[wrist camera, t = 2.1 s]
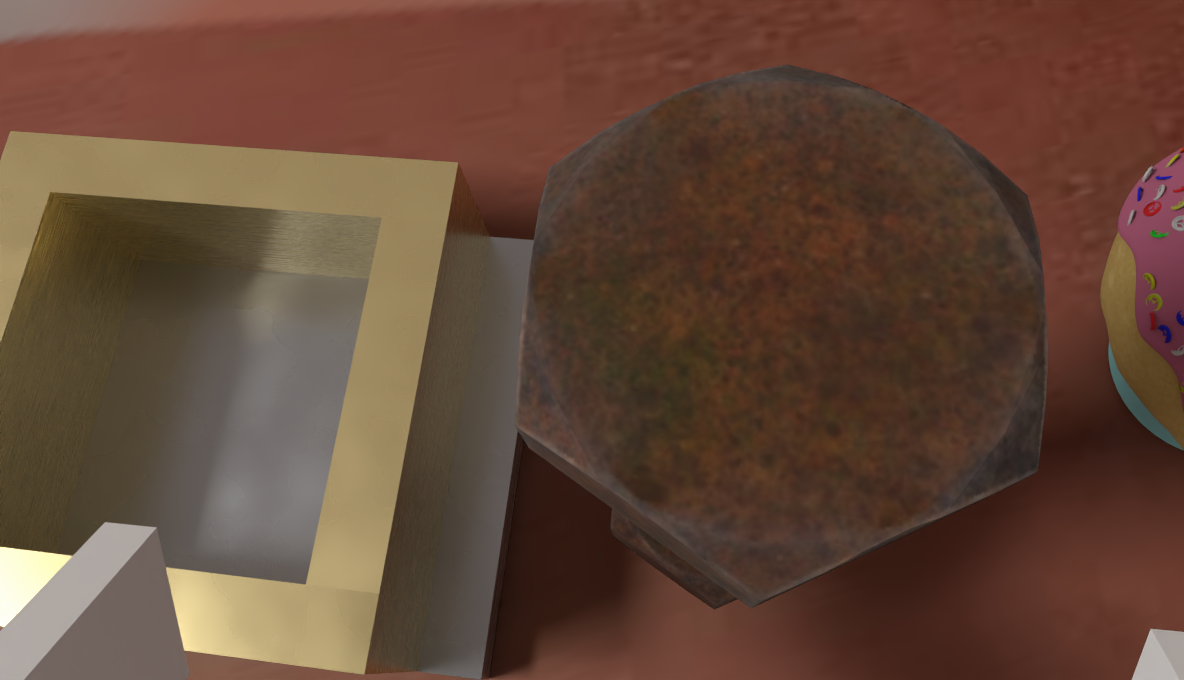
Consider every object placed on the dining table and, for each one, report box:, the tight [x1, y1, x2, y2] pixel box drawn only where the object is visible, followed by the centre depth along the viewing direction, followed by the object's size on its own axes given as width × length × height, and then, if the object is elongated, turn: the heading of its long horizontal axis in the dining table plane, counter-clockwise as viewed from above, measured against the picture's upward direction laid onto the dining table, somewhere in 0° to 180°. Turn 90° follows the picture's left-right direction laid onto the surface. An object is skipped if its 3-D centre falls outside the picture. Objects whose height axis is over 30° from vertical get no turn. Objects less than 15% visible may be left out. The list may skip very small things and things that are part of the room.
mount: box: [0, 131, 534, 680], centre depth 23 cm, size 14×11×5 cm
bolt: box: [515, 65, 1048, 609], centre depth 16 cm, size 6×5×15 cm
